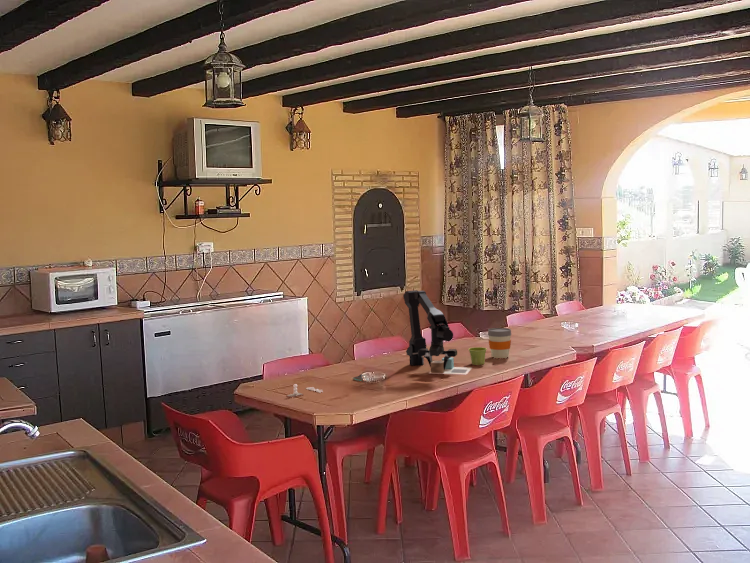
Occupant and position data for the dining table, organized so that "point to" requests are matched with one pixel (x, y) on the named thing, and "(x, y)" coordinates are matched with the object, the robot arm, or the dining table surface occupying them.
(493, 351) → the reusable coffee cup
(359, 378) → the game pieces
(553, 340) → the dining table surface
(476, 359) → the plant pot
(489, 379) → the dining table surface
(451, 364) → the teal cube
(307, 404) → the dining table surface
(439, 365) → the walnut block
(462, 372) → the board
